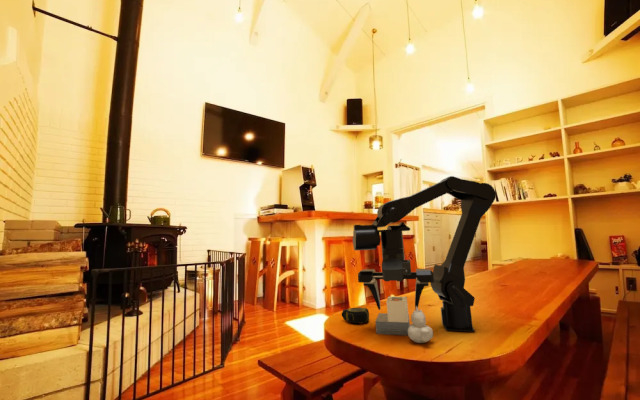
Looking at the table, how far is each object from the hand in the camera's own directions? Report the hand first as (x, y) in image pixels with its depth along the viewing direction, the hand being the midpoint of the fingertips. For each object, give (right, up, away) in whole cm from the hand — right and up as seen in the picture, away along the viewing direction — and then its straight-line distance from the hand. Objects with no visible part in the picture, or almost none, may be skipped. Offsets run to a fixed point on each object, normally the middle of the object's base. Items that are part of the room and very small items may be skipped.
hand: (397, 309), depth 73 cm
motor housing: (-1, -5, +1) cm, 6 cm away
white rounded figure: (+3, -4, -9) cm, 11 cm away
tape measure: (-10, -8, +10) cm, 16 cm away
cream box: (0, -2, 0) cm, 2 cm away
